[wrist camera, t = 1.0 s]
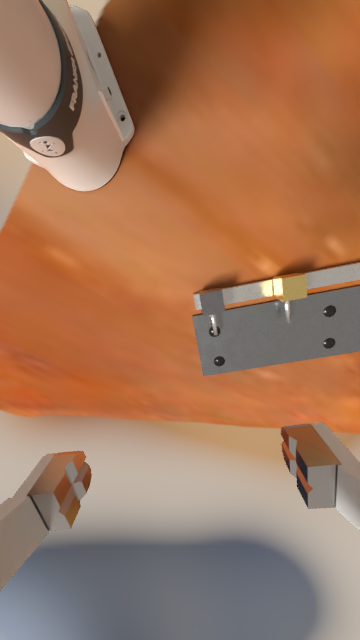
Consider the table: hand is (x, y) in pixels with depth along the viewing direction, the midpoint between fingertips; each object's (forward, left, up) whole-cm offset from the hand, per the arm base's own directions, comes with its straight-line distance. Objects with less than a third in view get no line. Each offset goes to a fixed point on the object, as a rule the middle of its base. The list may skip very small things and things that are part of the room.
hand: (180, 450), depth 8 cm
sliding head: (+3, +19, -31) cm, 37 cm away
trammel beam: (+3, +19, -33) cm, 38 cm away
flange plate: (+11, +19, -33) cm, 40 cm away
